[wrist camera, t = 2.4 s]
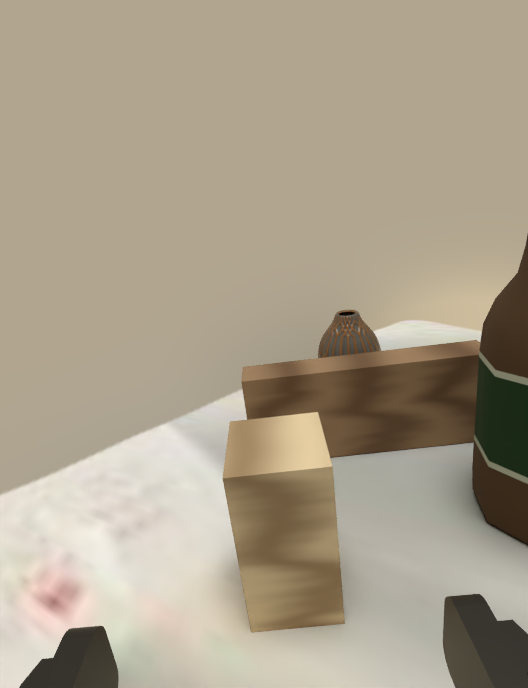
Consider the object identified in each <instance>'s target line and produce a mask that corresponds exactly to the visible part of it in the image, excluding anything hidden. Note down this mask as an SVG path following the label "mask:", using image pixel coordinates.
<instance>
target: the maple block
mask: <svg viewBox="0 0 528 688" xmlns="http://www.w3.org/2000/svg"><path fill="white" fill-rule="evenodd" d="M223 482H224V488H225V493H226V498H227V504H228V509H229V515H230V520H231V525H232V531H233V536H234V542H235V547H236V552H237V558H238V563H239V568H240V574H241V579H242V585H243V590H244V595H245V601H246V606H247V612H248V617H249V622H250V628H251V632H260V631H271V630H281V629H292V628H302V627H313V626H323V625H334V624H344V623H345V622H344V609H343V596H342V583H341V570H340V557H339V544H338V531H337V518H336V505H335V492H334V479H333V466H332V463H331V459H330V455H329V452H328V448H327V444H326V440H325V437H324V433H323V429H322V425H321V422H320V418H319V414H318V412H313V413H304V414H295V415H286V416H277V417H268V418H259V419H250V420H241V421H232V422H230V426H229V434H228V441H227V449H226V457H225V465H224V473H223Z"/></svg>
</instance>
